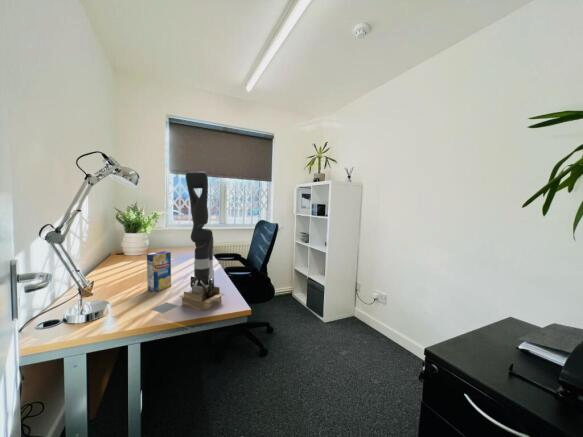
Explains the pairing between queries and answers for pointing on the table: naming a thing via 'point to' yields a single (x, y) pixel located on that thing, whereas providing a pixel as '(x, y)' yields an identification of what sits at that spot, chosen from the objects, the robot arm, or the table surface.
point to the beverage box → (158, 270)
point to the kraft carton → (196, 300)
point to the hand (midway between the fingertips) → (202, 296)
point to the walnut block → (200, 291)
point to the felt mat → (164, 307)
